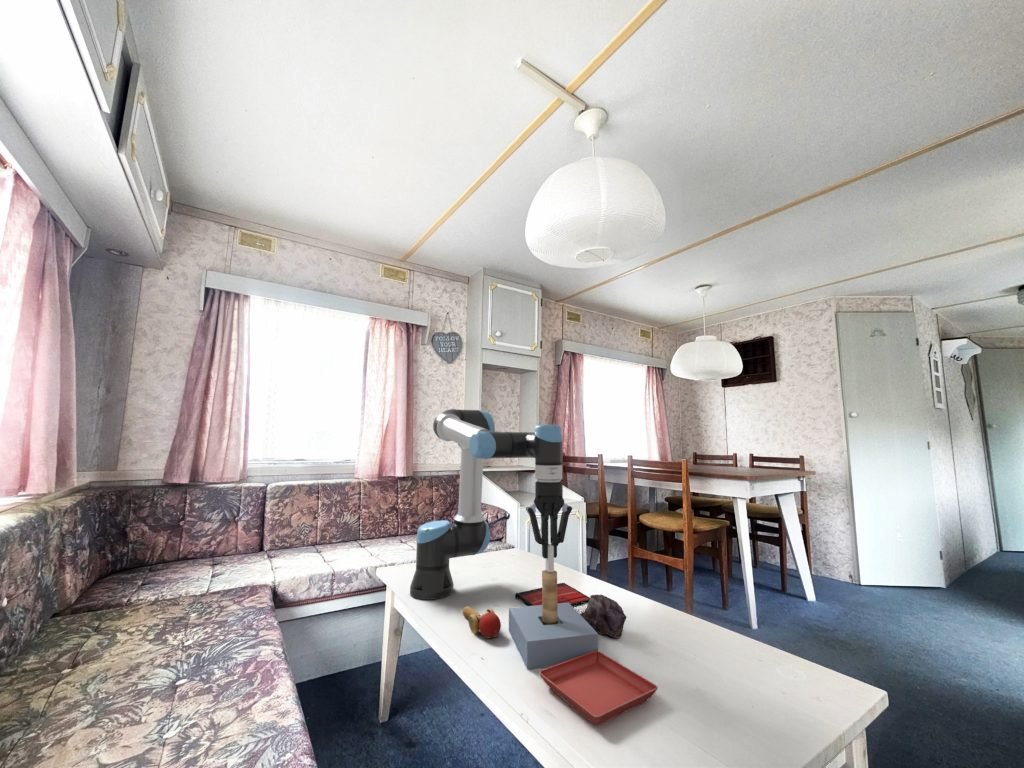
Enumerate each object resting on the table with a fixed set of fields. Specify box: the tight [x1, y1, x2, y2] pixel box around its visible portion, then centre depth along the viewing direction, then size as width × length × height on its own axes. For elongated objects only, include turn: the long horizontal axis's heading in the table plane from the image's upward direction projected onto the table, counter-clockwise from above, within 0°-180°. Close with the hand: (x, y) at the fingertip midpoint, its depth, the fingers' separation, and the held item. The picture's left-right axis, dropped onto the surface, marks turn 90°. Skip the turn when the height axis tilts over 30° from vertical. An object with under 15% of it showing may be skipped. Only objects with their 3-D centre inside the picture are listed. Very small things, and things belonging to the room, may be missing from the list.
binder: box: [514, 582, 590, 607], centre depth 137 cm, size 16×2×21 cm
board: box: [508, 602, 599, 670], centre depth 107 cm, size 20×18×6 cm
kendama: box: [462, 605, 502, 639], centre depth 116 cm, size 8×6×18 cm
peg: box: [541, 569, 558, 625], centre depth 108 cm, size 4×4×18 cm
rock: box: [580, 594, 627, 639], centre depth 115 cm, size 12×9×10 cm
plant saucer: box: [538, 650, 659, 726], centre depth 86 cm, size 18×18×3 cm
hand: (549, 570), depth 109 cm, fingers closed
